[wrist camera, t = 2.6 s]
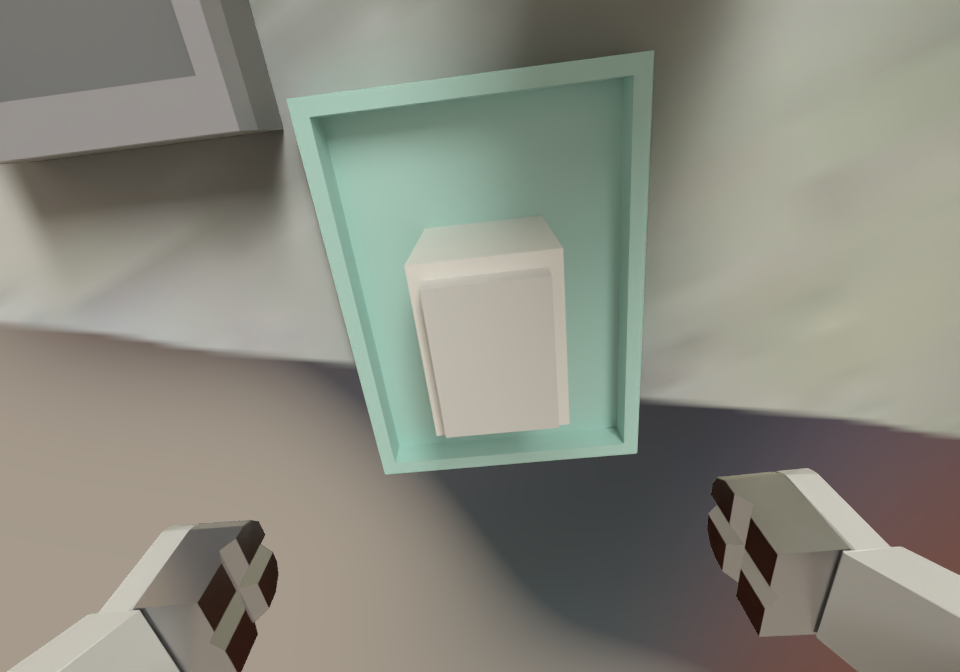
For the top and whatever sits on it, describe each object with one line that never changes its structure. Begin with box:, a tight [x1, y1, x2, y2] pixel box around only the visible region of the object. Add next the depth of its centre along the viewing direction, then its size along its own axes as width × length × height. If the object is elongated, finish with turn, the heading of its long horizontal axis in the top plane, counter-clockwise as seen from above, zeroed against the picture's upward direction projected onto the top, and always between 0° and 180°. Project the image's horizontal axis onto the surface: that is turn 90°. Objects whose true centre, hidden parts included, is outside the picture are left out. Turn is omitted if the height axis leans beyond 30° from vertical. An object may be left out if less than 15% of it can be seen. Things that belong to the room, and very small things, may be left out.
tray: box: [286, 50, 654, 475], centre depth 18 cm, size 12×16×2 cm
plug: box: [404, 215, 570, 438], centre depth 16 cm, size 4×6×6 cm
